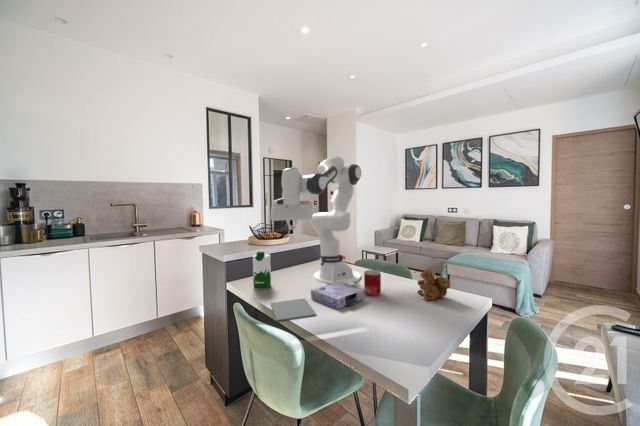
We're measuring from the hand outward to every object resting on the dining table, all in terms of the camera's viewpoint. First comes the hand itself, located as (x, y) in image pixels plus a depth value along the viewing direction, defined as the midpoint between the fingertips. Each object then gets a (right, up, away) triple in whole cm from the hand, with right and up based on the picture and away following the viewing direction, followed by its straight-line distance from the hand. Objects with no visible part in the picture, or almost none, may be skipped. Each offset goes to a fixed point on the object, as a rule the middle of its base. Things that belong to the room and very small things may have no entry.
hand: (292, 229), depth 130 cm
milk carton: (-17, -33, +14) cm, 40 cm away
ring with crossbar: (+24, -34, +31) cm, 52 cm away
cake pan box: (+15, -31, -11) cm, 36 cm away
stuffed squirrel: (+68, -32, -3) cm, 75 cm away
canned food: (+40, -32, +3) cm, 51 cm away
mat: (+2, -33, -16) cm, 37 cm away
